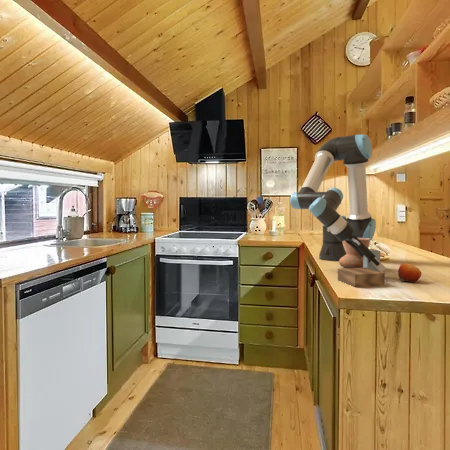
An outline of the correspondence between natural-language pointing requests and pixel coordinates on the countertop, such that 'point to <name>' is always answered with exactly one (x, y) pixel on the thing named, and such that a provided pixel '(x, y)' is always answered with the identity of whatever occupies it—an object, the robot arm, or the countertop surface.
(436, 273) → the countertop surface
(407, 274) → the fruit
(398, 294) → the countertop surface
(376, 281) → the walnut slab
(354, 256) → the ceramic jug
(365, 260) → the pillar
